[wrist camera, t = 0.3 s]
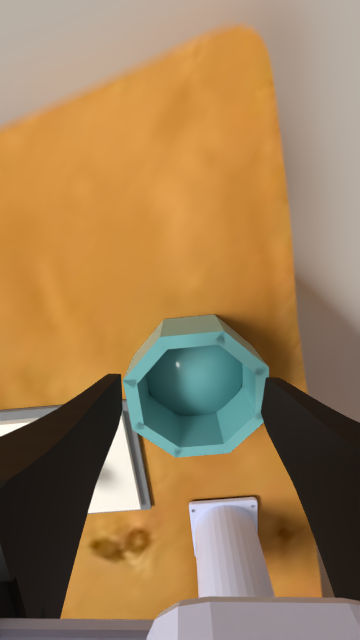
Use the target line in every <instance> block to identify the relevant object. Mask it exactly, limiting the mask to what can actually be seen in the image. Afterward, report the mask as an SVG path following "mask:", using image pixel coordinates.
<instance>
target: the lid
mask: <svg viewBox="0 0 360 640" xmlns="http://www.w3.org/2000/svg"><path fill="white" fill-rule="evenodd" d="M37 419H39V418H30V419H18V420H7V421H0V436H2V435H5V434H7V433H9V432H12V431H14V430H16V429H18V428H20V427H22V426H25V425H27V424H29V423H31V422H33V421H35V420H37ZM138 509H141V499H140V494H139V489H138V484H137V479H136V474H135V469H134V464H133V459H132V454H131V449H130V444H129V439H128V434H127V429H126V425H125V420H124V415H123V411H122V414H121V418H120V422H119V426H118V429H117V432H116V435H115V437H114V440H113V442H112V445H111V447H110V450H109V452H108V455H107V457H106V460H105V462H104V465H103V467H102V470H101V472H100V475H99V478H98V481H97V484H96V486H95V490H94V493H93V497H92V500H91V503H90V507H89V510H88V513H98V512H112V511H125V510H138Z"/></svg>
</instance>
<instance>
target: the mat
mask: <svg viewBox="0 0 360 640" xmlns="http://www.w3.org/2000/svg"><path fill="white" fill-rule="evenodd" d="M122 405H123V410H122V411H123V415H124V420H125V425H126V429H127V434H128V439H129V444H130V449H131V454H132V459H133V464H134V469H135V474H136V479H137V484H138V489H139V494H140V499H141V509H138V510H147V509H151V500H150V495H149V489H148V484H147V479H146V473H145V468H144V462H143V457H142V451H141V446H140V441H139V435H138V433H137V432H135V431H134V430H132V425H131V420H130V415H129V409H128V404H127V399H123V400H122ZM61 406H62V405H54V406H43V407H31V408H20V409H8V410H0V421H7V420H18V419H30V418H41V417H43V416H45V415H47V414H49V413H50V412H52V411H54V410H56V409H57V408H59V407H61ZM125 511H133V510H125ZM112 512H120V511H112ZM98 513H107V512H98ZM88 514H94V513H88Z"/></svg>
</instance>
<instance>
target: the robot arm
mask: <svg viewBox="0 0 360 640" xmlns="http://www.w3.org/2000/svg"><path fill="white" fill-rule="evenodd" d="M122 410H123V405H122V385H121V374H107V375H106V376H104V377H103V378H102V379H100V380H99V381H97V382H96V383H95V384H93V385H92V386H91V387H89V388H88V389H86V390H85V391H84V392H82V393H81V394H79V395H78V396H76V397H75V398H73V399H72V400H70V401H68V402H67V403H65V404H64V405H62V406H61V407H59V408H57V409H56V410H54V411H52V412H50V413H49V414H47V415H45V416H43V417H41V418H39V419H37V420H35V421H33V422H31V423H29V424H27V425H25V426H22V427H20V428H18V429H16V430H14V431H12V432H9V433H7V434H5V435H2V436H0V640H360V423H359V422H357V421H354V420H352V419H350V418H348V417H346V416H344V415H343V414H341V413H339V412H337V411H335V410H333V409H331V408H330V407H328V406H326V405H324V404H322V403H321V402H319V401H317V400H316V399H314V398H312V397H310V396H309V395H307V394H306V393H304V392H302V391H301V390H299V389H297V388H296V387H294V386H292V385H291V384H289V383H287V382H286V381H284V380H282V379H280V378H270V377H266V380H265V387H264V393H263V400H262V406H261V415H262V418H263V421H264V424H265V427H266V429H267V432H268V434H269V436H270V438H271V440H272V442H273V444H274V446H275V448H276V450H277V452H278V454H279V456H280V458H281V460H282V462H283V464H284V466H285V468H286V470H287V472H288V474H289V476H290V478H291V480H292V482H293V484H294V487H295V489H296V491H297V494H298V496H299V499H300V501H301V504H302V506H303V509H304V511H305V514H306V516H307V519H308V522H309V524H310V527H311V530H312V532H313V535H314V538H315V541H316V543H317V546H318V549H319V552H320V554H321V557H322V560H323V563H324V566H325V569H326V572H327V575H328V578H329V581H330V583H331V586H332V590H333V593H334V596H335V598H307V597H275V594H274V591H273V587H272V584H271V580H270V577H269V573H268V569H267V566H266V562H265V559H264V555H263V552H262V548H261V544H260V541H259V537H258V534H257V530H258V502H257V499H256V498H255V497H245V498H232V499H218V500H205V501H193V502H190V503H189V511H190V520H191V528H192V537H193V545H194V553H195V557H196V558H197V575H198V593H199V598H195V599H188V600H181V601H179V602H178V603H176V604H174V605H172V606H171V607H169V608H167V609H165V610H164V611H162V612H160V614H159V615H158V616H157V618H156V619H155V620H126V619H60V617H61V612H62V608H63V604H64V600H65V596H66V592H67V588H68V584H69V580H70V576H71V573H72V569H73V565H74V561H75V557H76V554H77V550H78V546H79V542H80V539H81V535H82V531H83V528H84V524H85V521H86V517H87V514H88V510H89V507H90V503H91V500H92V497H93V493H94V490H95V486H96V484H97V481H98V478H99V475H100V472H101V470H102V467H103V465H104V462H105V460H106V457H107V455H108V452H109V450H110V447H111V445H112V442H113V440H114V437H115V435H116V432H117V429H118V426H119V422H120V418H121V414H122Z"/></svg>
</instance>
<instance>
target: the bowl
mask: <svg viewBox="0 0 360 640" xmlns="http://www.w3.org/2000/svg"><path fill="white" fill-rule="evenodd" d="M266 377H269V367H268V365H267V364H266V363H265V362H264V360H263V359H262V358H261V357H260V355H259V354H258V353H257V352H256V350H255V349H254V348H253V346H252V345H251V344H250V343H249V342H247V341H246V340H245V339H244V338H242V337H241V336H240V335H239V334H238V333H236V332H235V331H234V330H233V329H232V328H230V327H229V326H228V325H227V324H225V323H224V322H223V321H222V320H221V319H219V318H218V317H217V316H216V315H215V314H213V315H203V316H192V317H182V318H171V319H164V320H163V321H162V322H161V323H160V325H159V326H158V327H157V328H156V329H155V331H154V332H153V333H152V334H151V335H150V337H149V338H148V339H147V340H146V341H145V343H144V344H143V345H142V346H141V347H140V349H139V350H138V351H137V352H136V353H135V354H134V356H133V358H132V361H131V363H130V365H129V368H128V370H127V372H126V374H125V377H124V379H123V384H124V389H125V394H126V399H127V404H128V409H129V415H130V420H131V425H132V430H134V431H135V432H137V433H138V434H140V435H141V436H143V437H145V438H146V439H148V440H149V441H151V442H152V443H154V444H156V445H157V446H159V447H160V448H162V449H163V450H165V451H167V452H168V453H170V454H171V455H173V456H174V457H187V456H199V455H212V454H224V453H230V452H231V451H232V450H233V449H234V448H236V447H237V446H238V445H239V444H240V443H241V442H242V441H243V440H244V439H246V438H247V437H248V436H249V435H250V434H251V433H252V432H253V431H255V430H256V429H257V428H258V427H259V426H260V425H261V424H262V423H263V422H264V421H263V418H262V415H261V406H262V400H263V393H264V387H265V380H266Z"/></svg>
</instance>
